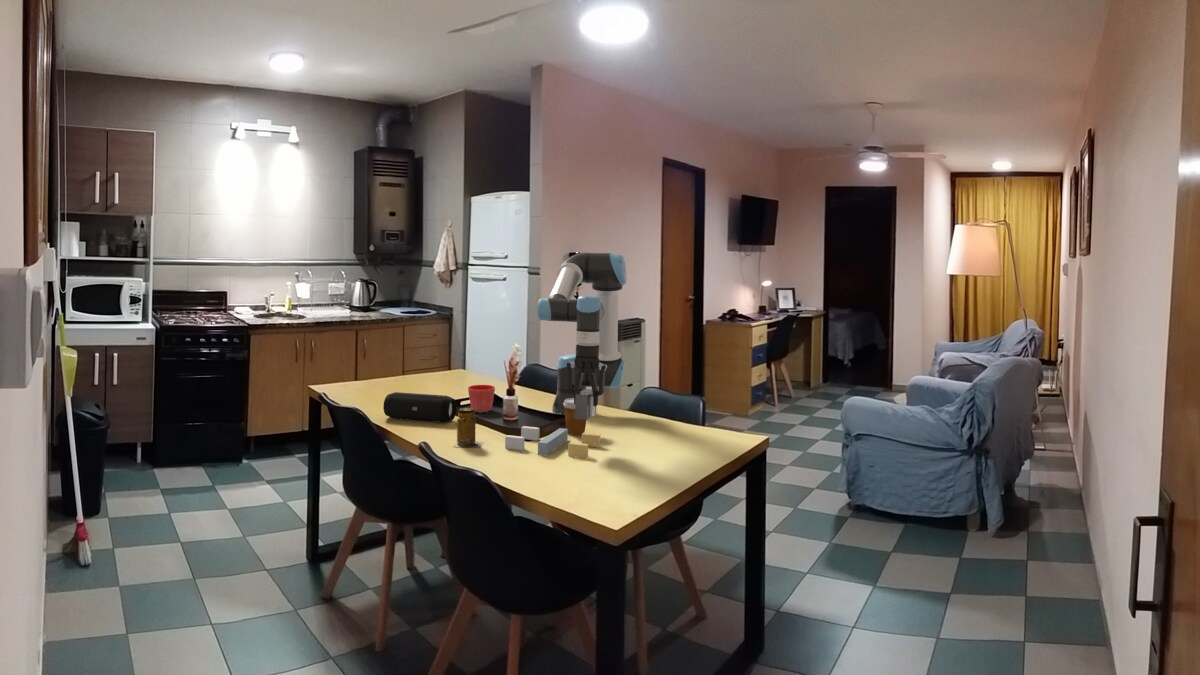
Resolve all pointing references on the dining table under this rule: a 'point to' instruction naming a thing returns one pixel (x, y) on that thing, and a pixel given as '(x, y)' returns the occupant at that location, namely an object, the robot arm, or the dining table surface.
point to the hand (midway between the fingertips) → (585, 414)
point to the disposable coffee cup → (573, 419)
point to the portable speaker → (420, 407)
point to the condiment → (466, 428)
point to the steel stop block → (583, 404)
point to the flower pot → (481, 397)
